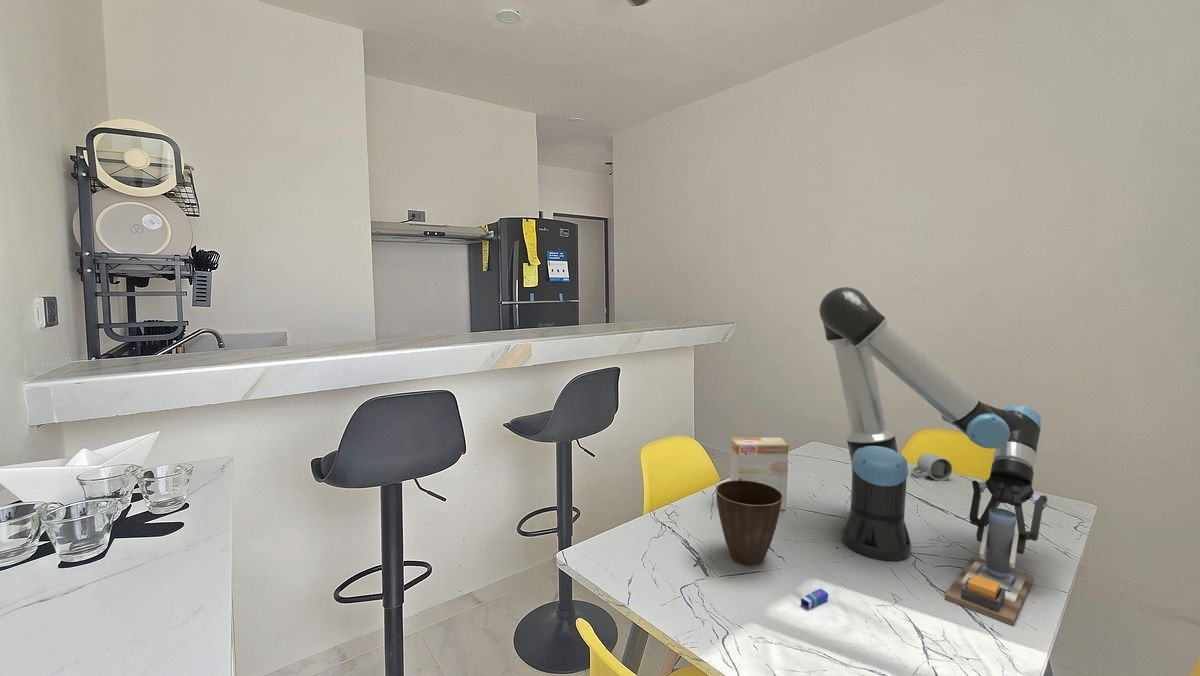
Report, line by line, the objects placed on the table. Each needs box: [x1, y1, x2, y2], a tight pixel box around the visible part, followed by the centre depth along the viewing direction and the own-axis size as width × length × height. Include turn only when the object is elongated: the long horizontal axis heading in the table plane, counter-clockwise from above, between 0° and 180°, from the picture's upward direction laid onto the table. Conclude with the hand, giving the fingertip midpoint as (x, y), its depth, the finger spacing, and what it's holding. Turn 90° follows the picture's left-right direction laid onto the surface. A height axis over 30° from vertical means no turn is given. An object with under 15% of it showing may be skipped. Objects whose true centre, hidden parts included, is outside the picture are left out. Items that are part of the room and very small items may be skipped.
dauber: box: [985, 507, 1017, 579], centre depth 109 cm, size 5×5×14 cm
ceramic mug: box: [910, 453, 953, 482], centre depth 170 cm, size 11×8×8 cm
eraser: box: [800, 588, 829, 611], centre depth 101 cm, size 2×6×2 cm, turn 119°
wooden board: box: [944, 556, 1035, 626], centre depth 106 cm, size 22×11×3 cm, turn 132°
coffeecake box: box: [729, 436, 789, 511], centre depth 147 cm, size 15×7×20 cm, turn 88°
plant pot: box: [715, 480, 782, 566], centre depth 118 cm, size 15×15×16 cm
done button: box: [967, 574, 1000, 600], centre depth 101 cm, size 4×4×2 cm
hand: (996, 560), depth 107 cm, fingers closed on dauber, 4 cm apart
